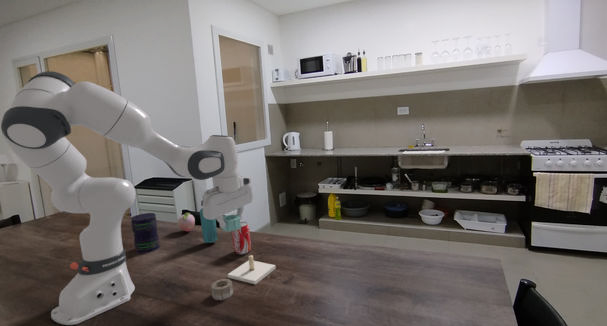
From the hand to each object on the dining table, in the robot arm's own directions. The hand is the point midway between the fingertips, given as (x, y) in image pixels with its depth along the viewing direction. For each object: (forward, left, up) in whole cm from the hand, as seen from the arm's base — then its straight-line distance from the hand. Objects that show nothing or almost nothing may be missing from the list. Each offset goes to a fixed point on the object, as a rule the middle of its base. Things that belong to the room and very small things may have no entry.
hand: (231, 223), depth 108 cm
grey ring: (-10, -3, -20) cm, 22 cm away
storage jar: (+5, +55, -20) cm, 59 cm away
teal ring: (0, 0, -2) cm, 2 cm away
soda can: (+18, +12, -20) cm, 29 cm away
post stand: (+5, -3, -20) cm, 20 cm away
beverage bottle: (+20, +32, -20) cm, 43 cm away
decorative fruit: (+27, +55, -20) cm, 64 cm away
